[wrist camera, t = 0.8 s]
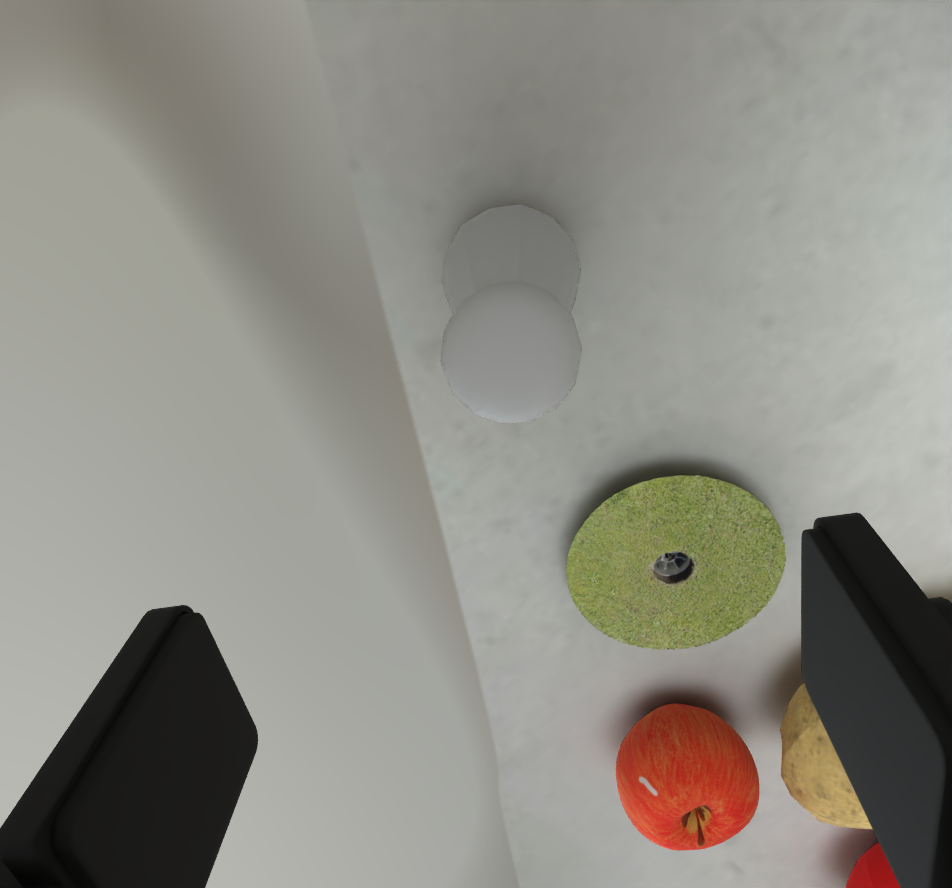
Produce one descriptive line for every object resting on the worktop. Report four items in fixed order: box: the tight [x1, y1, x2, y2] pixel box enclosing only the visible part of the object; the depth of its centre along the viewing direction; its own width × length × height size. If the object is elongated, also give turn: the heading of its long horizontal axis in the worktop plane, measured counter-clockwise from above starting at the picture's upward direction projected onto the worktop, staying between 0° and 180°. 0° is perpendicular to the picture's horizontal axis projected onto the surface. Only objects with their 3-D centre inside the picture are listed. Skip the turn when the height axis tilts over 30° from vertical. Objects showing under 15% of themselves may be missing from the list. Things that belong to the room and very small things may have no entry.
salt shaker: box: [441, 204, 582, 424], centre depth 27 cm, size 6×6×13 cm
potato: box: [780, 683, 872, 829], centre depth 38 cm, size 10×14×10 cm
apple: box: [616, 703, 759, 850], centre depth 42 cm, size 8×8×8 cm
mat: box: [566, 475, 786, 649], centre depth 38 cm, size 11×11×2 cm
